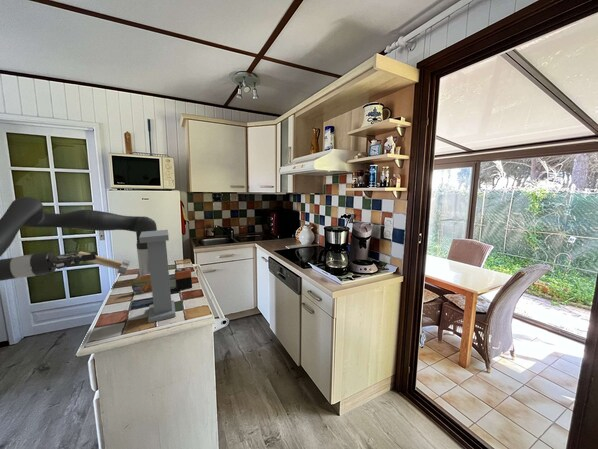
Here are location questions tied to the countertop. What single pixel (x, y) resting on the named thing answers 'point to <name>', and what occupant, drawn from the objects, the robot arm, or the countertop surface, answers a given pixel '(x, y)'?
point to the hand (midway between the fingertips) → (96, 255)
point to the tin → (142, 284)
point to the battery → (183, 278)
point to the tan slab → (109, 262)
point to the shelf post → (158, 275)
